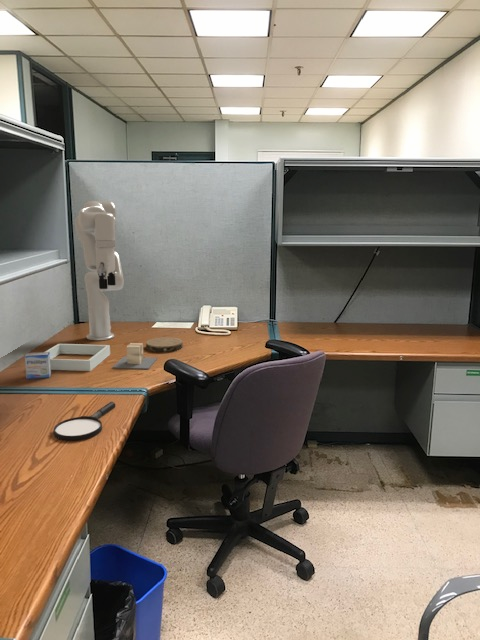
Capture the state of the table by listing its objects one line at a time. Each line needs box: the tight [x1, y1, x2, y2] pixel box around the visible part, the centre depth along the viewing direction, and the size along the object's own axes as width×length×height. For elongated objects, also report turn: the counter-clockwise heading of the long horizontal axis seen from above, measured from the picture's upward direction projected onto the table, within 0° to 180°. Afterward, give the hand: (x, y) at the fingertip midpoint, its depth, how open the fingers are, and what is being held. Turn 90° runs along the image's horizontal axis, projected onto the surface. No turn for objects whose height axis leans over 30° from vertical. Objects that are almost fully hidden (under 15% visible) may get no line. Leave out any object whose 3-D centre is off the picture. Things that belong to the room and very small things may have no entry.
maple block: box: [126, 342, 144, 364], centre depth 192 cm, size 5×5×7 cm
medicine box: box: [24, 351, 52, 380], centre depth 176 cm, size 8×4×9 cm, turn 105°
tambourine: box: [145, 336, 184, 354], centre depth 215 cm, size 16×16×3 cm
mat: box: [111, 356, 158, 370], centre depth 193 cm, size 14×14×1 cm
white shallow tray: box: [44, 343, 111, 372], centre depth 194 cm, size 22×22×4 cm
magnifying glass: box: [53, 401, 116, 442], centre depth 139 cm, size 12×24×2 cm, turn 164°
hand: (107, 287), depth 199 cm, fingers open, 9 cm apart
